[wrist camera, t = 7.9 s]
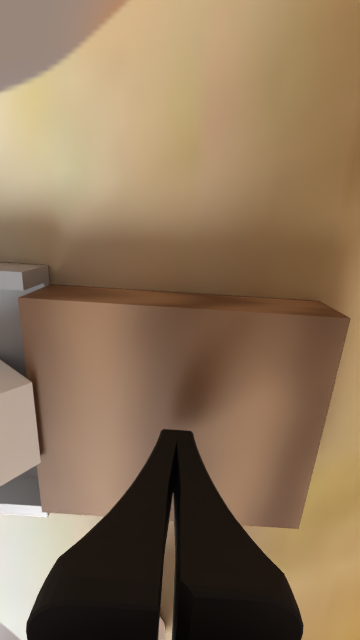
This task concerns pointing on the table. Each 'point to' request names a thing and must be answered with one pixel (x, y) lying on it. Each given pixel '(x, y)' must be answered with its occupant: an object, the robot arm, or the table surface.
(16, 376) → the tile
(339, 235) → the table surface
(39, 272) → the tray
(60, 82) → the table surface
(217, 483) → the brown board
